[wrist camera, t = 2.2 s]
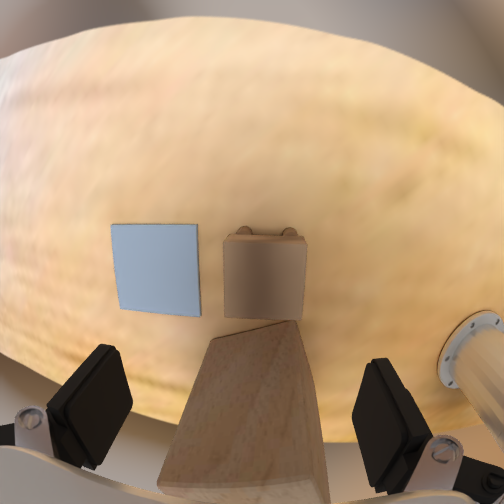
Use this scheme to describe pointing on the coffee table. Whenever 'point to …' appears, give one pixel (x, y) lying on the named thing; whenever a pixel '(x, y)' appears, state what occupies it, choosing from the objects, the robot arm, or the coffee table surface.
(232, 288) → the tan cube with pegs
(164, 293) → the mat
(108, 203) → the coffee table surface
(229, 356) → the wooden block
